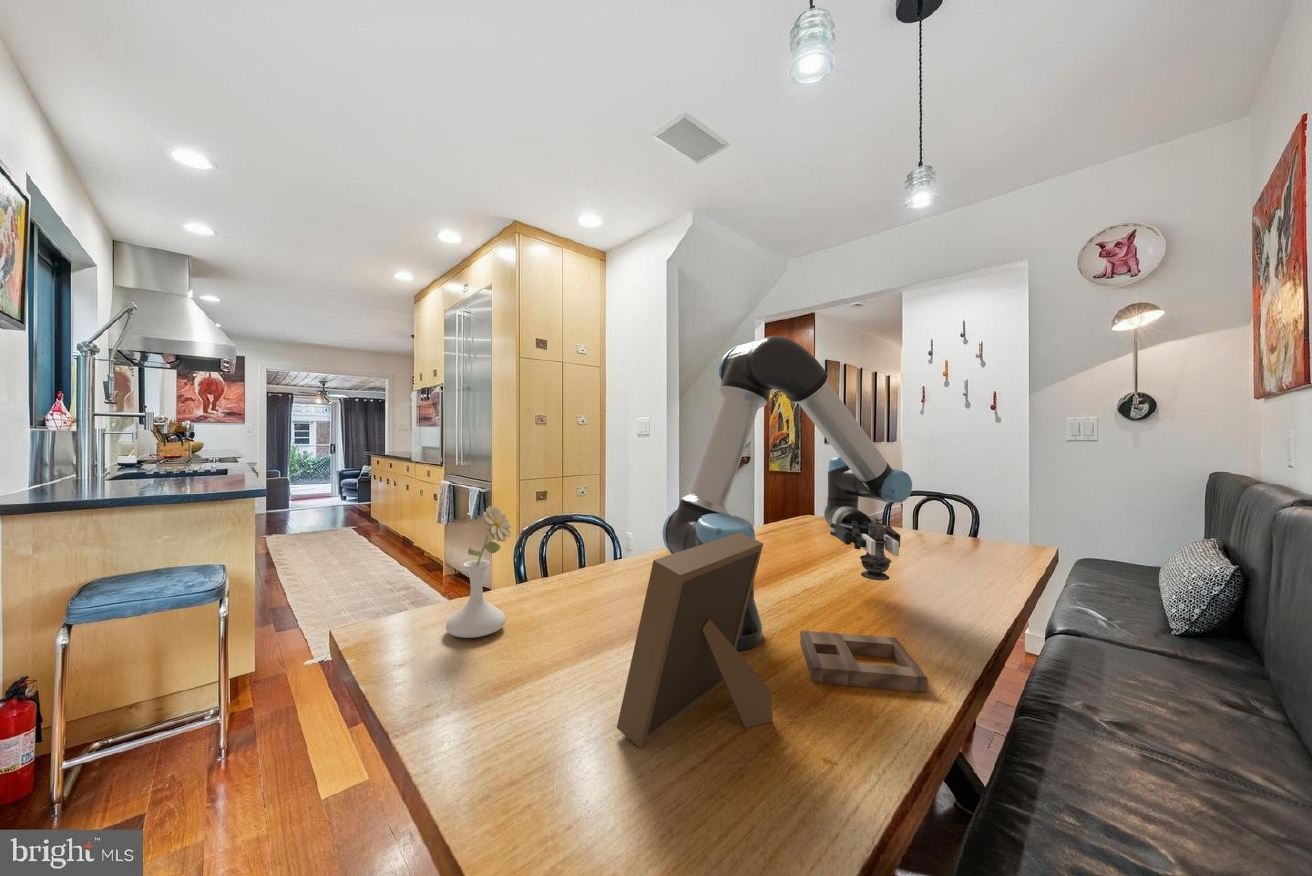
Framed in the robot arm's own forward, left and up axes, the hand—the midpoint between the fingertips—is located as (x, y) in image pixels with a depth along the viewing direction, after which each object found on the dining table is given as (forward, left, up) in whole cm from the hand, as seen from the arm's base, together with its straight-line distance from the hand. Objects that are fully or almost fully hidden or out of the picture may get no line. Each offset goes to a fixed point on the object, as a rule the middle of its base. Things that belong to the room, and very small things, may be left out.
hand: (884, 548), depth 92 cm
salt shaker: (0, +5, -7) cm, 9 cm away
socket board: (-7, -9, -19) cm, 22 cm away
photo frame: (-32, -29, -19) cm, 48 cm away
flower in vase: (-79, -7, -19) cm, 82 cm away
